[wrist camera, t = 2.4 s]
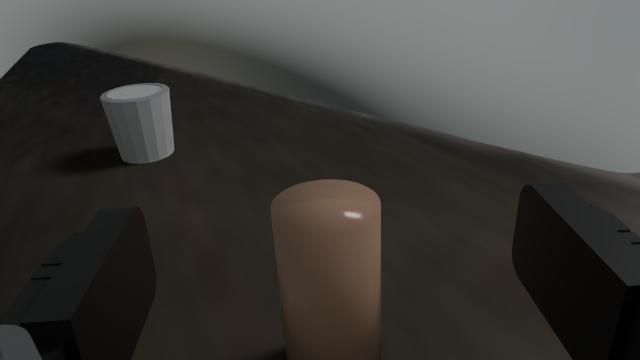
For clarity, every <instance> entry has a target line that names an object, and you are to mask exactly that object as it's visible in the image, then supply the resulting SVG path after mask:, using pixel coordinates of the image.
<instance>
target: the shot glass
mask: <svg viewBox="0 0 640 360" xmlns="http://www.w3.org/2000/svg"><path fill="white" fill-rule="evenodd" d="M100 99H101V102H102V104H103V107H104V110H105V113H106V116H107V119H108V121H109V124H110V127H111V130H112V133H113V136H114V138H115V141H116V144H117V147H118V150H119V153H120V155H121V158H122V160H123V161H125V162H128V163H135V164H141V163H150V162H154V161H158V160H161V159H163V158H166V157H168V156H169V155H171V154H172V153H173V151H174V139H173V128H172V117H171V106H170V95H169V87H167V86H166V85H163V84H158V83H144V84H133V85H128V86H122V87H119V88H115V89H112V90H109V91H107V92H105V93H103V94H102V95H101V97H100Z"/></svg>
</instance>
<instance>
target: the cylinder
mask: <svg viewBox="0 0 640 360" xmlns="http://www.w3.org/2000/svg"><path fill="white" fill-rule="evenodd" d="M271 218H272V227H273V236H274V246H275V255H276V264H277V273H278V282H279V291H280V300H281V309H282V319H283V328H284V337H285V346H286V355H287V360H381V203H380V199H379V197H378V195H377V194H376V193H375V192H374V191H373V190H371V189H370V188H368V187H366V186H364V185H361V184H358V183H355V182H351V181H345V180H332V179H330V180H316V181H309V182H305V183H301V184H298V185H295V186H292V187H290V188H288V189H286V190H284V191H283V192H281V193H280V194H279V195H277V196H276V197H275V199H274V200H273V202H272V204H271Z"/></svg>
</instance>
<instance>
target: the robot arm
mask: <svg viewBox="0 0 640 360" xmlns="http://www.w3.org/2000/svg"><path fill="white" fill-rule="evenodd" d="M512 259H513V265H514V269H515V272H516V274H517V276H518V278H519V280H520V281H521V283H522V284H523V286H524V287H525V289H526V290H527V292H528V293H529V295H530V296H531V298H532V299H533V301H534V302H535V304H536V305H537V307H538V308H539V310H540V311H541V313H542V314H543V316H544V317H545V319H546V320H547V322H548V323H549V325H550V326H551V328H552V329H553V331H554V332H555V334H556V335H557V337H558V338H559V340H560V341H561V343H562V344H563V346H564V347H565V349H566V350H567V352H568V353H569V355H570V356H571V358H572V359H573V360H640V238H639V237H638V236H637V235H636V234H635V233H631V232H630V229H629V228H628V227H627V226H626V225H624V224H623V223H622V222H621V221H620V220H619V219H618V218H616V217H615V216H614V215H612V214H610V213H608V212H606V211H604V210H602V209H600V208H598V207H596V206H594V205H592V204H587V203H586V202H585V201H583V200H582V199H581V198H580V197H579V196H578V195H577V194H576V193H575V192H573V191H572V190H571V189H570V188H569V187H568V186H567V185H566V184H564V183H546V184H529V185H525V186H524V187H523V188H522V190H521V193H520V197H519V204H518V211H517V218H516V225H515V232H514V239H513V246H512ZM155 291H156V271H155V266H154V261H153V256H152V251H151V247H150V242H149V237H148V232H147V228H146V223H145V218H144V215H143V212H142V210H141V208H140V207H138V206H133V207H116V208H101V209H100V210H99V211H98V212H97V213H96V215H95V216H94V218H93V219H92V221H91V222H90V223H89V225H88V226H87V228H86V229H85V231H84V232H83V233H75V234H73V235H72V236H70V237H69V238H67V239H66V240H65V241H63V242H62V243H60V244H59V245H57V246H56V247H54V248H53V250H52V251H51V252H50V254H49V255H48V256H47V258H46V259H45V260H44V262H43V263H42V267H39V268H38V270H37V271H36V272H35V273H34V275H33V276H32V277H31V281H29V282H28V283H27V284H26V285H25V287H24V288H23V289H22V291H21V292H20V293H19V295H18V296H17V297H16V299H15V300H14V301H13V302H12V304H11V305H10V306H9V308H8V309H7V310H6V312H5V313H4V314H3V316H2V317H1V318H0V360H131V358H132V356H133V353H134V350H135V348H136V345H137V342H138V340H139V337H140V334H141V332H142V329H143V326H144V324H145V321H146V319H147V316H148V313H149V311H150V308H151V305H152V303H153V300H154V296H155Z"/></svg>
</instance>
